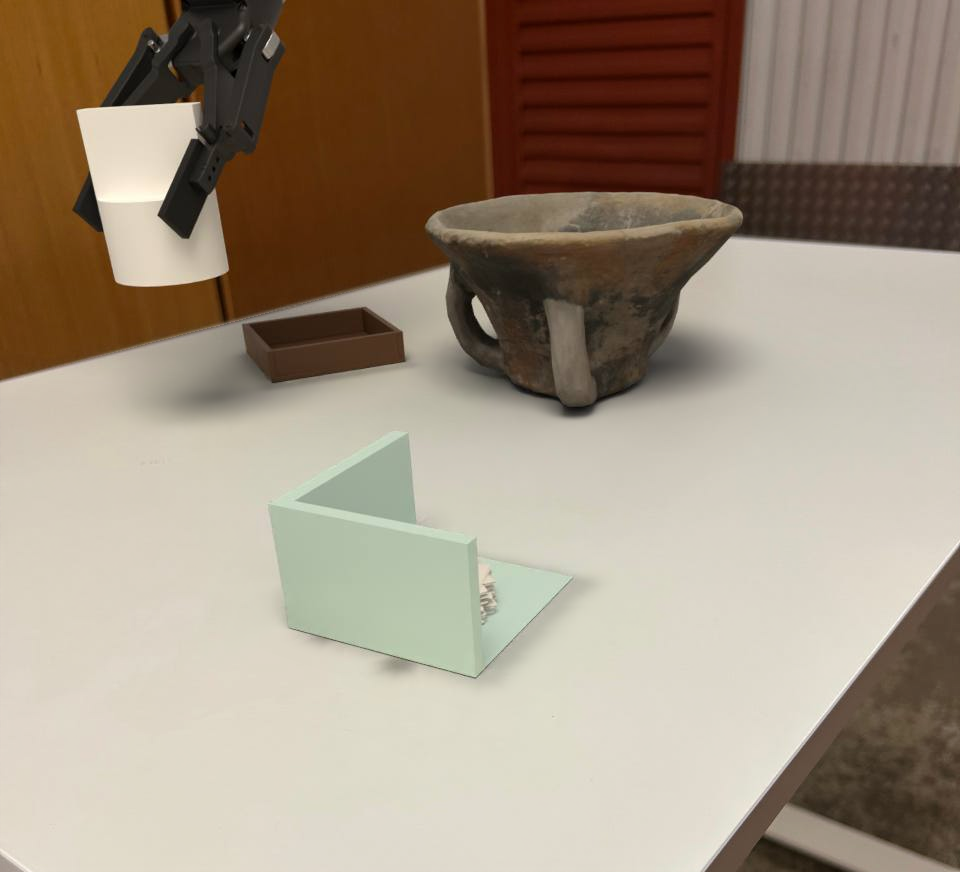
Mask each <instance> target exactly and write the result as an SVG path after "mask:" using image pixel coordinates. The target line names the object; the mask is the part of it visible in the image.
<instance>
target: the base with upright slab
mask: <svg viewBox="0 0 960 872" xmlns="http://www.w3.org/2000/svg"><path fill="white" fill-rule="evenodd" d="M75 112H76V117H77V121H78V125H79V129H80V134H81V137H82V142H83V146H84V151H85V155H86V159H87V164H88V168H89V169H90V173H91V178H92V182H93V186H94V191H95V195H96V199H97V204H98V208H99V212H100V217H101V221H102V226H103V230H104V232H103V234H104V238H105V243H106V248H107V252H108V255H109V260H110V265H111V268H112V274H113V277H114V281H115V283H117V284H119V285H122V286H128V287H144V288H145V287H148V288H149V287H165V286H166V287H168V286H178V285H185V284H192V283H196V282H203V281H207V280H210V279H215V278H217V277H220V276H223V275H225V274H227V272H229V271H230V267H229V260H228V255H227V248H226V243H225V238H224V237H225V236H224V233H223V225H222V220H221V214H220V208H219V202H218V195H217V190H216V187H215V188H214V190H213V191H212V192H211V194H210V195H208V197H207V199H206V201H205V204H204V206H203V208H202V210H201V213H200V215H199V217H198V220H197V222H196V224H195V226H194V229H193V231H192V233H191V235H190V238H189V239H182V238H181V237H180V236H179V235H178V234H177V233H176V232H174V231H173V230H172V229H171V228H170V227H169V226H168V225H167V224H166V223H165V222H164V221H163V220H162V219H160V218H159V217H158V216H157V214H158V212H159V210H160V208H161V205H162V203H163V201H164V199H165V196H166V194H167V192H168V190H169V187H170V185H171V183H172V181H173V178H174V176H175V174H176V172H177V169H178V167H179V165H180V163H181V161H182V158H183V156H184V154H185V152H186V149H187V147H188V145H189V143H190V140H191V139H199V140H200V141H201V142H202V143H203V144H205V142H206V141H205V140H204V139H203V138H202V137H201V135H200V134H199V133H198V132H197V131H196V129H195V128H197V129H198V130H199V131H200V129H199V126H201V125H202V122H203V107H202V102H201V101H196V102H176V103H174V104H156V105H138V106H120V107H102V108H99V107H88V108H87V107H85V108H81V109H76V110H75ZM89 169H88V170H89Z"/></svg>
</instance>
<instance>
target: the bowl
mask: <svg viewBox="0 0 960 872" xmlns="http://www.w3.org/2000/svg"><path fill="white" fill-rule="evenodd" d="M743 215H744V214H743V212H742V211H741V210H740V209H739V208H738V207H737V206H734V205H732V204H729V203H726V202H722V201H720V200H718V199H710V198H704V197H701V196H697V195H688V194H687V195H684V194H679V193H663V192H654V191H653V192H651V191H649V192H646V191H632V192H631V191H630V192H627V191H618V192H616V191H615V192H611V191H601V192H600V191H599V192H598V191H579V192H578V191H574V192H549V193H547V192H546V193H529V194H515V195H513V194H512V195H506V196H500V197H496V198H490V199H485V200H479V201H475V202H469V203H462V204H458V205H454V206H451V207H450V206H449V207H448V208H445V209H442V210H438V211H436V212H435V213H433V214H432V215H431V216H430V217H429V218H428V220H427V222H426V224H425V225H424V229H425V233H426V235H427V236H428V237H429V238H430V240H431V241H432V242H433V244H435V246H436V247H437V248H438V249H439V250H440V251H441V252H442V254H443V255H445V257H446V258H447V259H448V260H449V261H450V262H449V274H448V281H447V287H446V293H445V305H446V314H447V319H448V321H449V323H450V326H451V328H452V331H453V333H454V336H455V338H456V340H457V342H458V343H459V345H460V347H461V348H462V350H463V351H464V353H465V354H466V355H468V356H469V357H470V358H472V359H473V360H474V361H475V362H477V363H478V364H479V365H480V366H482V367H485V368H488V369H491V370H493V371H497V372H499V373H502V374H503V373H504V374H506V375H507V377H508V378H509V379H510V381H511V382H512V383H513V384H515V385H517V386H519V387H520V388H523V389H524V390H527V391H531V392H533V393H536V394H541V395H545V396H550V397H554V398H558V399H559V401H560V402H561V403H562V405H564V406H567V407H569V408H570V407H572V408H573V407H577V408H578V407H587V406H591V405H592V404H594V403H595V402H596V400H599V399H601V398H604V397H607V396H610V395H612V394H615V393H618V392H621V391H624V390H627V389H628V388H630V387H631V386H632V385H633V384H636V383H638V382H639V381H640V380H641V379H642V378H643V377H644V376H645V375H647V373H648V371H649V367H648V359H650V358H651V357H652V356H653V355H654V353H656V351H657V350H658V349H659V348H660V347H661V346H662V345H663V344H664V342H665V341H666V340H667V338H668V337H669V334H670V333H671V331H672V329H673V326H674V323H675V320H676V317H677V314H678V311H679V305H680V298H681V293H682V292H681V291H682V290H683V289H684V287H685V286H686V285H687V284H688V282H689V281H690V280H691V279H692V278H693V276H695V274H697V273H698V272H699V271H700V270H701V269H703V268H704V267H705V266H706V264H708V263H709V262H710V261H711V260H712V259H713V257H714V256H715V255H716V254H717V253H718V252H719V251H720V250H721V249H722V247H723V246H724V245H725V244H726V243H727V242H728V241H729V240H730V239H731V237H732V236H733V235H734V234H735V233H736V232H737V230H739V228H740V227H741V226H742V225H743V221H744V217H743ZM475 297H477V299H478V301H479V303H480V304H481V306H482V307H483V310H484V311H485V312H484V313H485V314H486V316H487V318H488V320H489V322H490V324H491V326H492V329H493V330H494V332H495V335H496V337H497V338H495V337H493V336H491V335H489V334H488V333H486V330H484V329H483V327H482V325H481V324H480V322H479V321H478V319H477V317H476V315H475V312H474V311H475V310H474V306H473V303H472V302H473V299H474V298H475Z"/></svg>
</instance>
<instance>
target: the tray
mask: <svg viewBox="0 0 960 872" xmlns="http://www.w3.org/2000/svg"><path fill="white" fill-rule="evenodd" d="M241 328H242V333H243V339H244V345H245V351H246V354H247V355H248V356H249V357H250V358H251V360H253V362H254V363H255V364H256V365H257V366H258V368H259V369H260V370H261V371H262V373H263V374H264V375H265V376H266V377H267V378H268V380H269V381H270V382H271V383H273V384H274V383H278V382H284V381H285V382H286V381H291V380H297V379H304V378H309V377H317V376H323V375H329V374H335V373H336V374H337V373H341V372H349V371H353V370H361V369H366V368H374V367H380V366H385V365H392V364H397V363H404V362H406V354H405V343H404V332H403V331H402V330H401V329H400V328H398V327H397V326H395V325H393V323H390V322H389V321H388V320H386V319H385V318H384V317H382V316H381V315H379V314H377V313H376V312H375V311H373V310H372V309H370V308H368V307H367V306H359V307H358V306H357V307H353V308H345V309H337V310H330V311H322V312H317V313H309V314H303V315H294V316H288V317H282V318H274V319H267V320H260V321H252V322H246V323H241Z"/></svg>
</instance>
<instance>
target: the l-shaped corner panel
mask: <svg viewBox="0 0 960 872" xmlns="http://www.w3.org/2000/svg"><path fill="white" fill-rule="evenodd" d="M413 478H414V477H413V467H412V456H411V445H410V435H409V432H407V431H401V430H395V429H394V430H392V431H390V432H389V433H387V434H385V435H384V436H382V437H380V438H378V439H377V440H375V441H373V442H372V443H370V444H368V445H366V446H365V447H363V448H361V449H360V450H357V451H356V452H354V453H352V454H351V455H349V456H348V457H346V458H344V459H342V460H341V461H339V462H337V463H336V464H334V465H332V466H329V468H327V469H325V470H323V471H322V472H320V473H318V474H317V475H315V476H313V477H312V478H310V479H308V480H306V481H305V482H303V483H302V484H300V485H297V486H296V487H294V488H293V489H291V490H289V491H287V492H286V493H284V494H282V495H280V496H278V497H277V498H275V499H273V500H272V501H269V503H267V507H268V513H269V519H270V525H271V532H272V536H273V542H274V543H273V544H274V549H275V554H276V560H277V565H278V572H279V577H280V578H279V579H280V583H281V589H282V595H283V600H284V606H285V612H286V618H287V624H288V628H289V629H293V630H296V631H301V632H303V633H308V634H311V635H315V636H317V637H322V638H326V639H328V640H329V639H330V640H334V641H336V642H337V641H338V642H341V643H344V644H349V645H353V646H356V647H358V648H359V647H360V648H363V649H367V650H371V651H375V652H378V653H382V654H385V655H390V656H393V657H397V658H401V659H404V660H409V661H411V662H414V663H415V662H416V663H419V664H423V665H427V666H430V667H434V668H438V669H442V670H445V671H449V672H452V673H457V674H460V675H464V676H468V677H471V678H477V677H478V676H479V675H480V674H481V673H482V672H483V670H484V669H486V668H487V667H488V666H489V665H490V663H491V662H492V661H493V660H494V659H495V658H496V657H498V655H499V654H500V653H501V652H502V651H503V650H504V649H505V648H506V647H507V646H508V645H509V644H510V643H511V642H512V641H513V640H514V639H515V637H516V636H517V635H519V634H520V632H521V631H523V629H525V627H526V626H528V625H529V623H530V622H531V621H532V620H533V619H534V618H535V617H536V616H537V615H538V614H539V613H540V612H541V611H542V610H543V609H544V608H545V607H546V606H547V605H548V604H549V602H551V601H552V600H553V599H554V598H555V597H556V595H558V593H559V592H560V591H561V590H562V589H563V588H564V587H566V586H567V584H568V583H569V582H570V581H571V580H572V579H573V578H574V576H573V575H569V574H563V573H558V572H553V571H550V570H549V571H548V570H544V569H539V568H533V567H529V566H525V565H524V566H523V565H519V564H516V563H509V562H505V561H501V560H496V559H490V558H487V557H486V558H485V557H481V556H479V555H478V537H477V536H474V535H470V534H464V533H459V532H454V531H449V530H444V529H439V528H434V527H429V526H424V525H419V524H417V514H416V501H415V489H414V479H413Z"/></svg>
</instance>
